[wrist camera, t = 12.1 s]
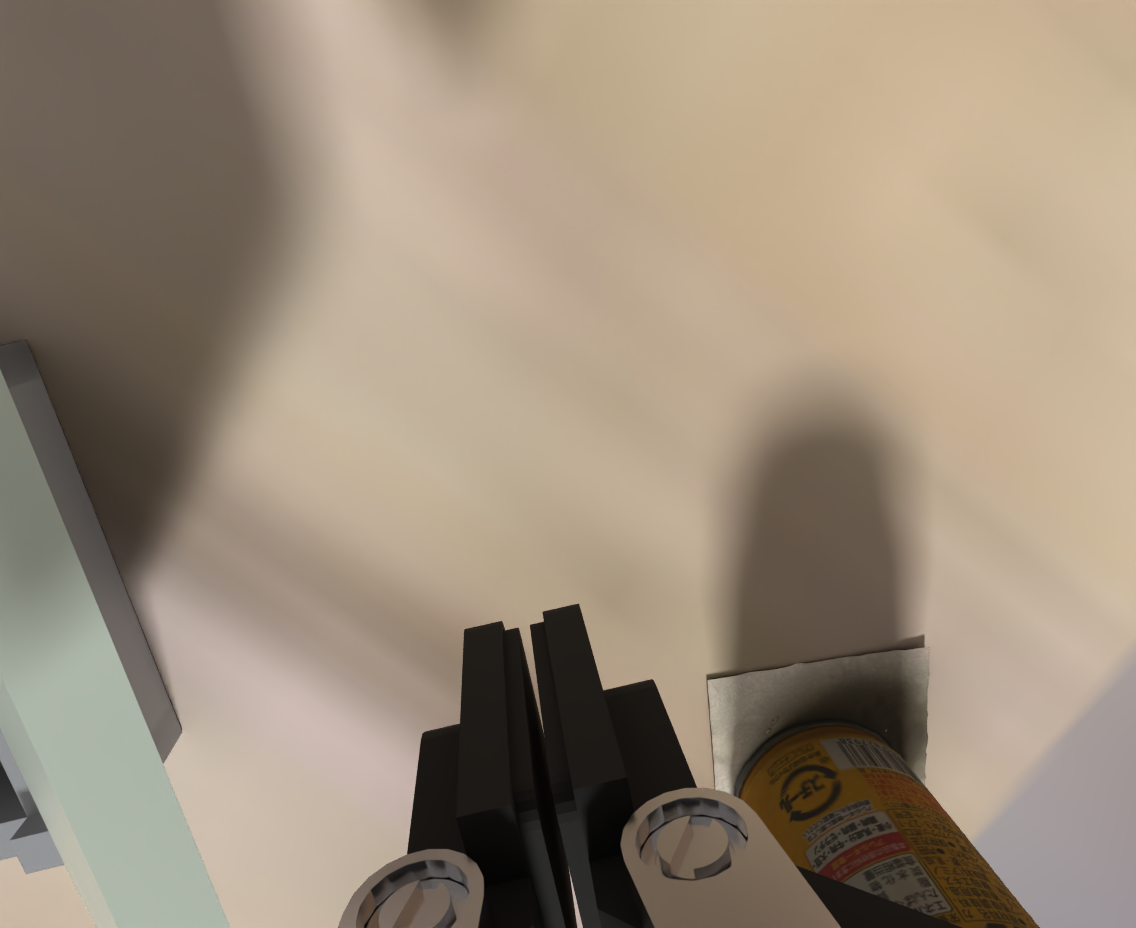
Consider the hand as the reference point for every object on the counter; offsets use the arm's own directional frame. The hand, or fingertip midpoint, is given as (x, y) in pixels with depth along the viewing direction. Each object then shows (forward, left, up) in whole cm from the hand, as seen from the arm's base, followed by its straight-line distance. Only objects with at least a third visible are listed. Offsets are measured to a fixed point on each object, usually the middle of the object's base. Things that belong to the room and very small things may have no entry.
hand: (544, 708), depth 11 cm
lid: (0, -9, -2) cm, 9 cm away
